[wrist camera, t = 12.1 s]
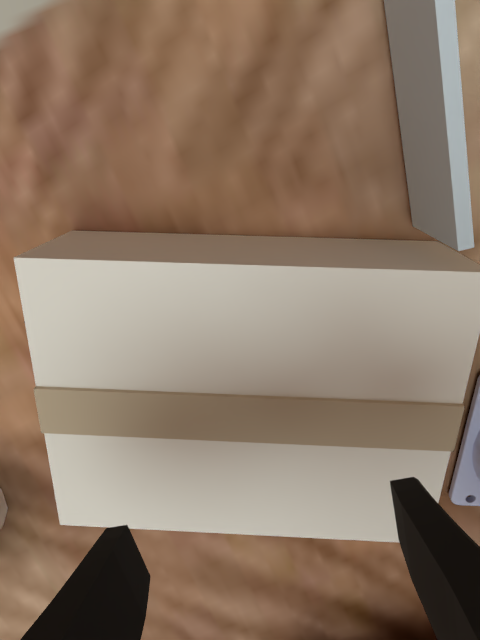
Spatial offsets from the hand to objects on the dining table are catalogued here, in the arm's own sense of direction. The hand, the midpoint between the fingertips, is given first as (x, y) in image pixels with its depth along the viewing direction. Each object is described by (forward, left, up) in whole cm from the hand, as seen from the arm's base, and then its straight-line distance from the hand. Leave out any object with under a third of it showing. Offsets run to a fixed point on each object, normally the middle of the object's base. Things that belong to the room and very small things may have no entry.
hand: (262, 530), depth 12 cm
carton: (+1, 0, -10) cm, 10 cm away
